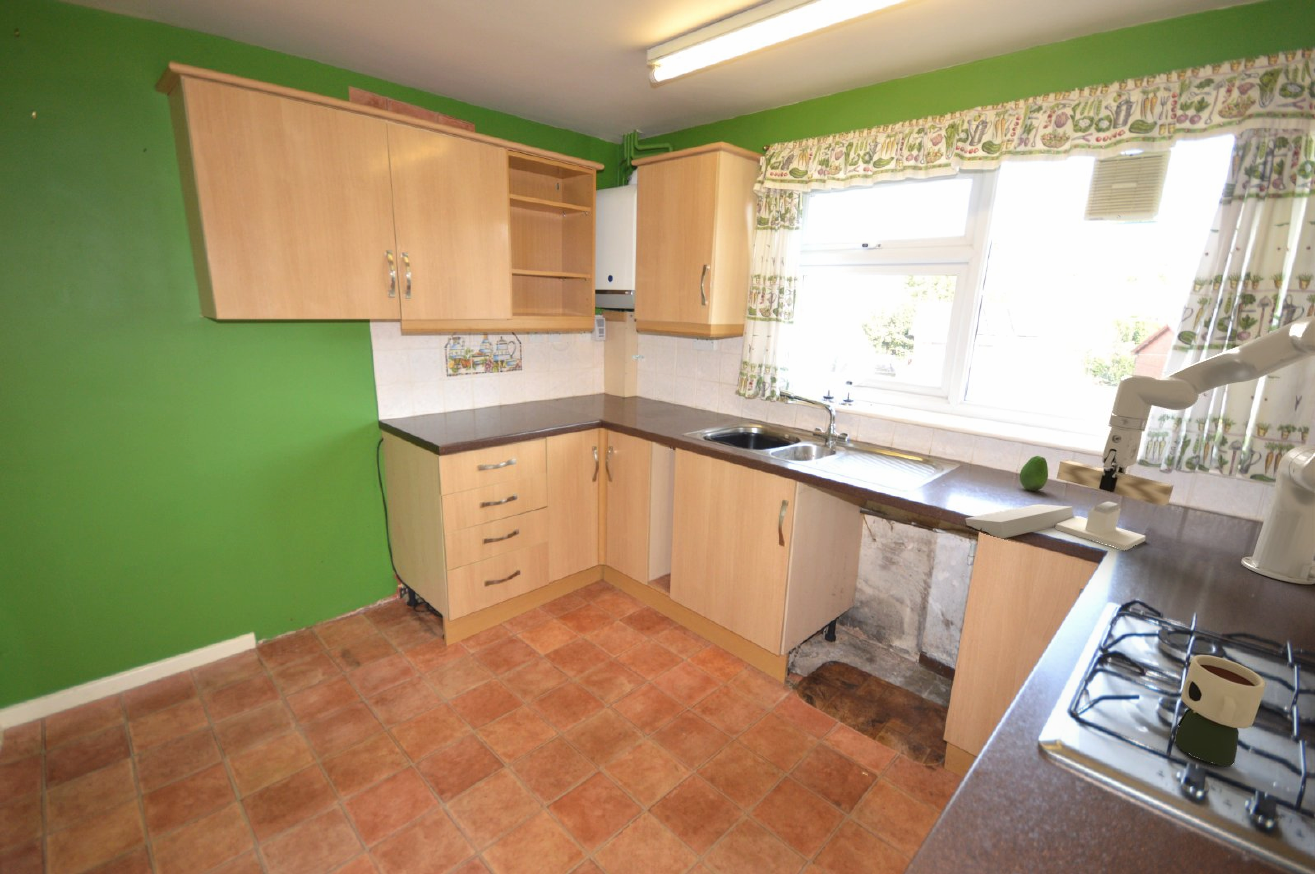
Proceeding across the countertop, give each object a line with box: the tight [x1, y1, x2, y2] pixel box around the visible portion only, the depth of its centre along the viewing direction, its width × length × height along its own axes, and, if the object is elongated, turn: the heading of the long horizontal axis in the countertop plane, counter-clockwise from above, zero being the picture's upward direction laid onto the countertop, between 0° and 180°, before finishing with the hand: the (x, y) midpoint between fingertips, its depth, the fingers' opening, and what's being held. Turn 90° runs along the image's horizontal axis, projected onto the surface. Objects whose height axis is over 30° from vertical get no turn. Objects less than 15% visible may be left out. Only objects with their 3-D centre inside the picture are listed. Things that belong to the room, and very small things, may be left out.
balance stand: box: [1054, 500, 1147, 552], centre depth 156 cm, size 16×14×9 cm
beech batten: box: [1056, 459, 1175, 507], centre depth 154 cm, size 24×4×5 cm, turn 34°
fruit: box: [1019, 455, 1049, 492], centre depth 193 cm, size 8×8×12 cm
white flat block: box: [965, 503, 1075, 540], centre depth 163 cm, size 34×5×10 cm
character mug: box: [1174, 654, 1267, 767], centre depth 77 cm, size 11×7×13 cm, turn 143°
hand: (1109, 488), depth 154 cm, fingers closed on beech batten, 4 cm apart
